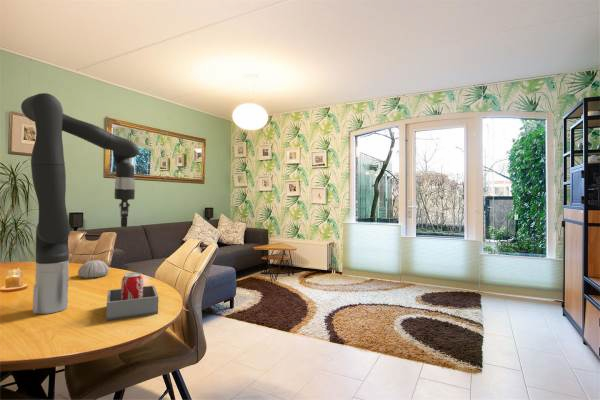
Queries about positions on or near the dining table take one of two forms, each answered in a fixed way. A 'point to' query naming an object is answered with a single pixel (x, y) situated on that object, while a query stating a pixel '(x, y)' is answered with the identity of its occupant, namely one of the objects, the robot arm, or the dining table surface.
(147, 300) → the bin
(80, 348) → the dining table surface
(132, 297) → the soda can
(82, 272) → the sea urchin shell
